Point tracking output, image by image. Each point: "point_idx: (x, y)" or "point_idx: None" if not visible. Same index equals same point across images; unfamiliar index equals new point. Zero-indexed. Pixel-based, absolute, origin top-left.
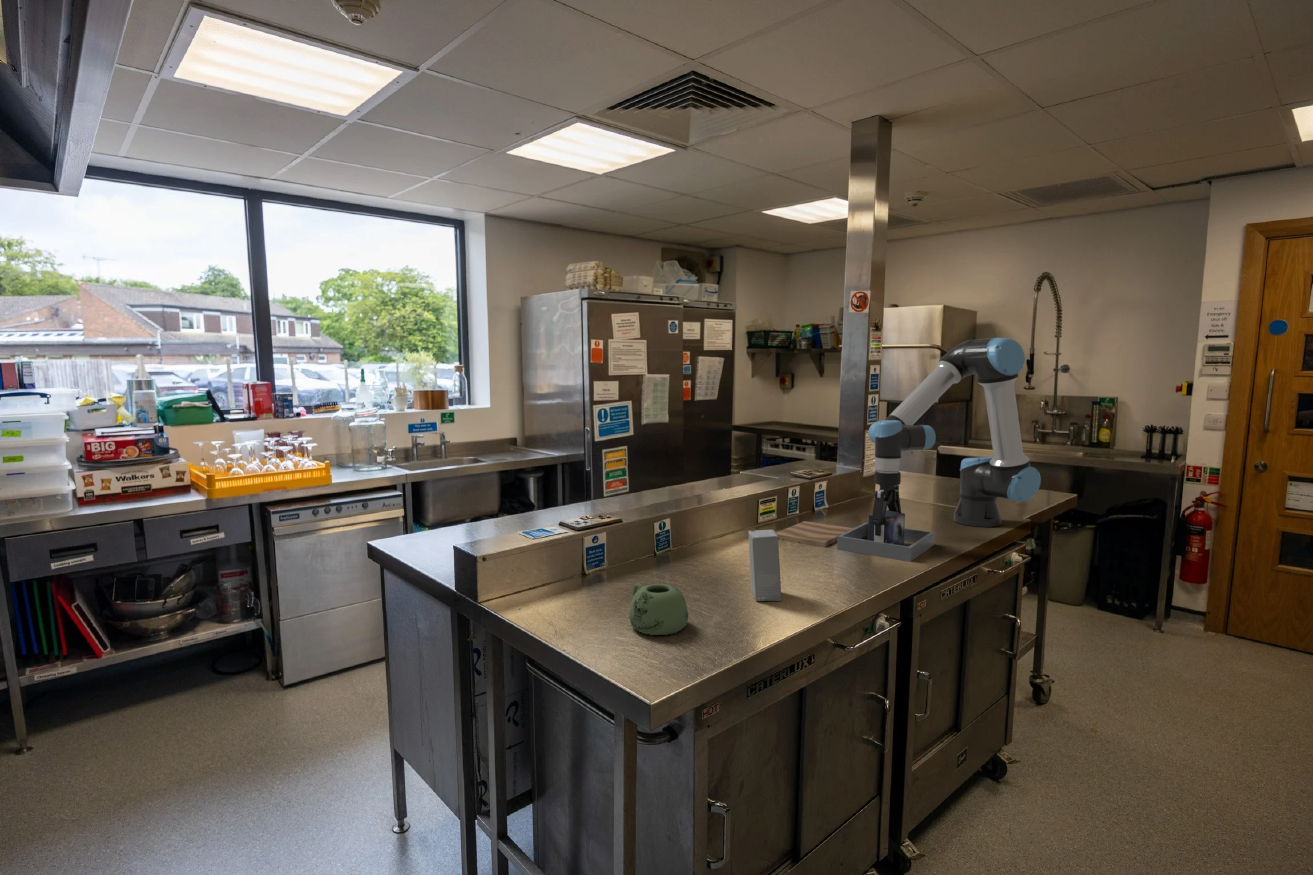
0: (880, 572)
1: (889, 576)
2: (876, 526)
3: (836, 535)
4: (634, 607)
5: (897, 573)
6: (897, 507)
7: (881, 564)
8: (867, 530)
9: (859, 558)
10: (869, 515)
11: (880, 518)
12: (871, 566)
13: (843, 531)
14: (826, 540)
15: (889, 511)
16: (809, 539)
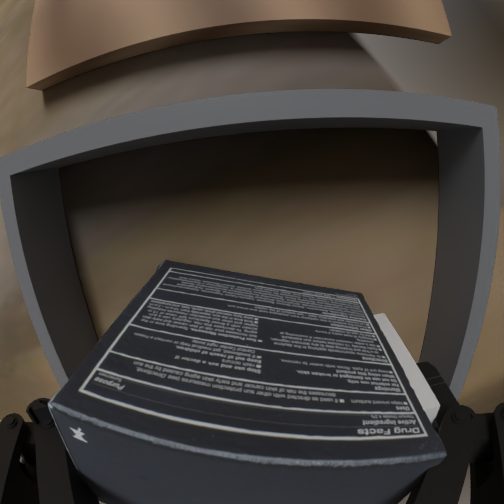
0: (4, 387)
1: (7, 407)
2: None
3: (195, 18)
4: None
5: (31, 420)
6: (477, 490)
7: (39, 380)
8: (454, 132)
9: (22, 303)
10: (52, 409)
11: (33, 480)
12: (8, 360)
13: (334, 3)
14: (56, 63)
15: (363, 497)
16: (37, 8)
